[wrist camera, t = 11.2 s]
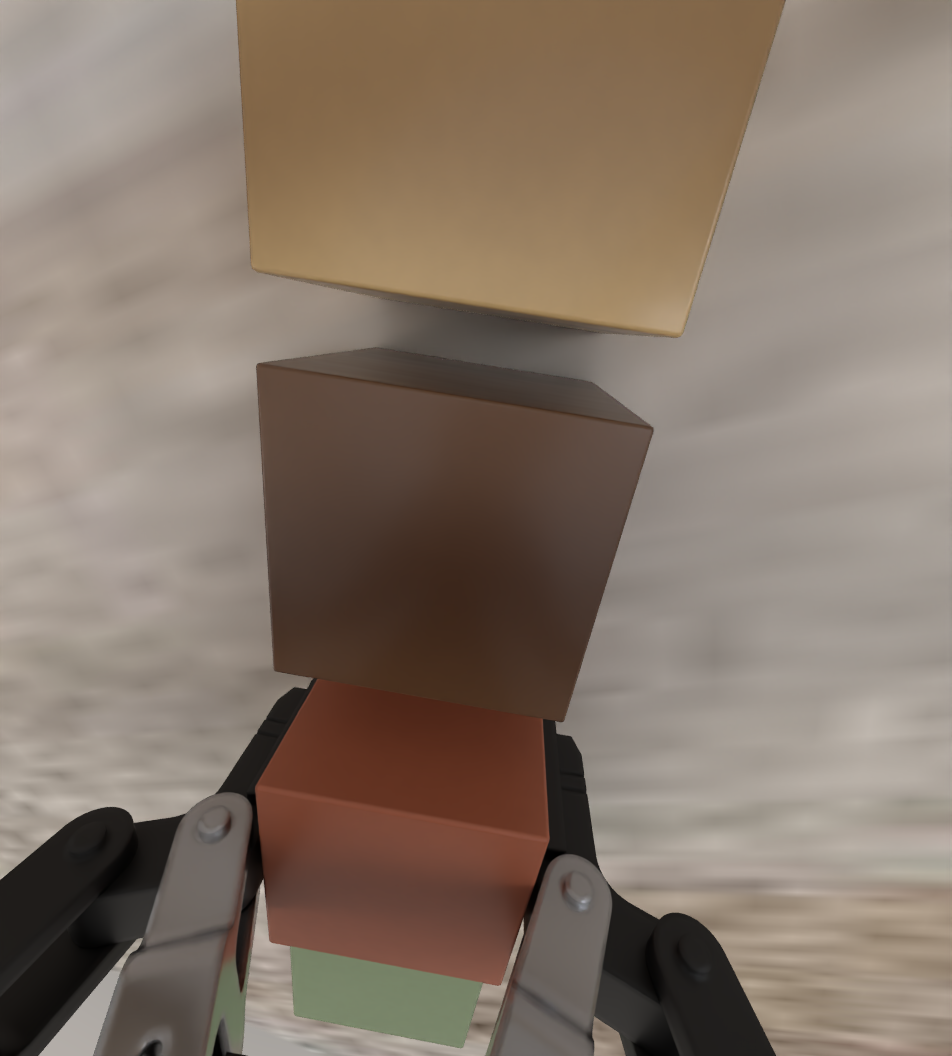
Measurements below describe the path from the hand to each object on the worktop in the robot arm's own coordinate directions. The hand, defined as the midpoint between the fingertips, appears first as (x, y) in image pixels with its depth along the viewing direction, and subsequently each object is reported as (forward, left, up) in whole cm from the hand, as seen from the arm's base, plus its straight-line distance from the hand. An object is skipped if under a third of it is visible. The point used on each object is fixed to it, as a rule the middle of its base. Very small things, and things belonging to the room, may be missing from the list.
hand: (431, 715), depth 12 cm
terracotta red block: (0, 0, -1) cm, 1 cm away
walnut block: (-7, 0, -2) cm, 7 cm away
